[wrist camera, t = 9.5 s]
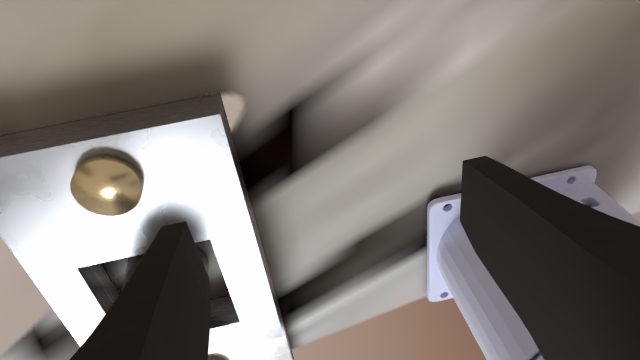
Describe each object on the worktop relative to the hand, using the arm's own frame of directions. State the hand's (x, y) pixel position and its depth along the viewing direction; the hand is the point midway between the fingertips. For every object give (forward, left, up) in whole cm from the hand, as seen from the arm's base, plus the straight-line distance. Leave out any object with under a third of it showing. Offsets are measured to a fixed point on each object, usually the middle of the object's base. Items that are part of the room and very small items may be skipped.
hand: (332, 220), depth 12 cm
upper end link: (+8, +7, -9) cm, 14 cm away
